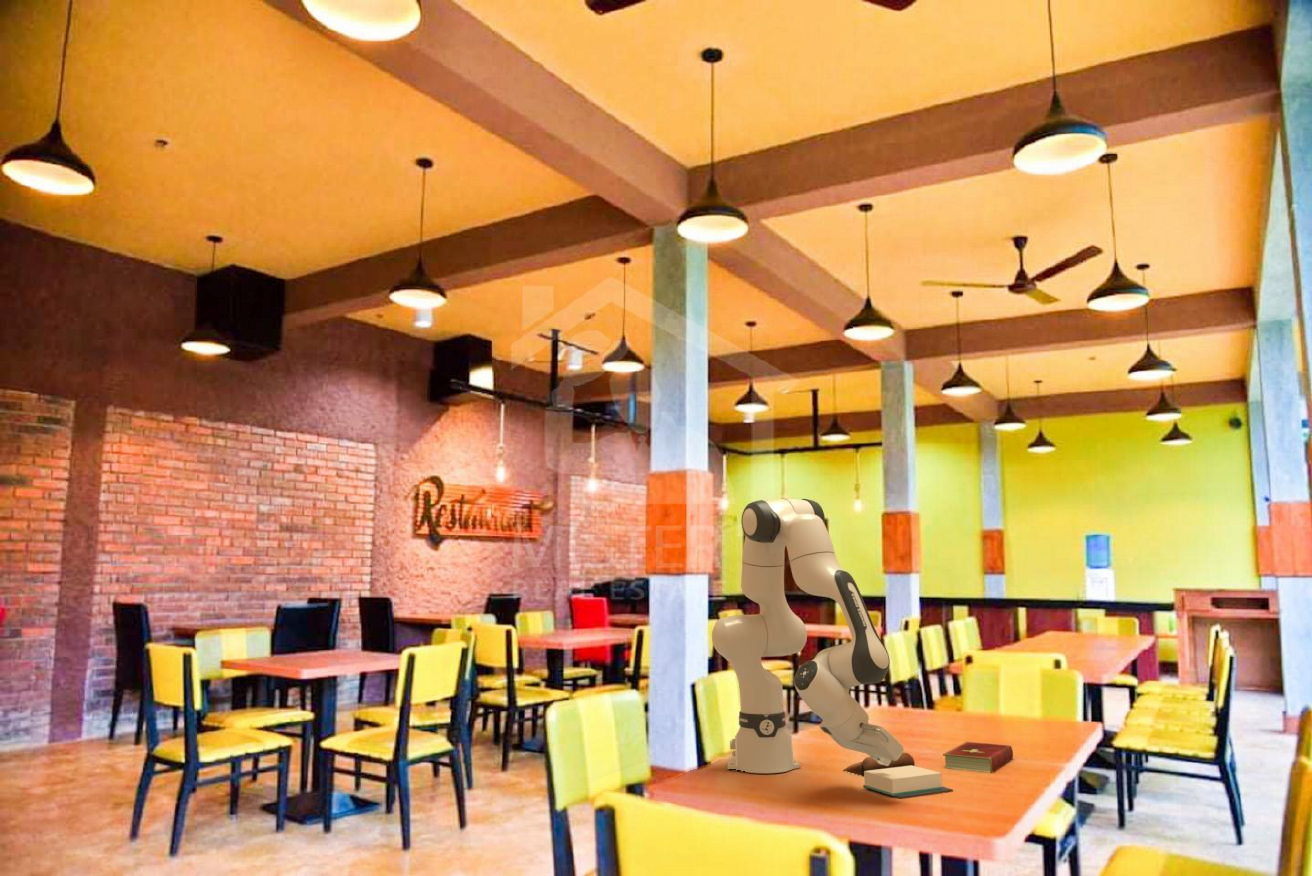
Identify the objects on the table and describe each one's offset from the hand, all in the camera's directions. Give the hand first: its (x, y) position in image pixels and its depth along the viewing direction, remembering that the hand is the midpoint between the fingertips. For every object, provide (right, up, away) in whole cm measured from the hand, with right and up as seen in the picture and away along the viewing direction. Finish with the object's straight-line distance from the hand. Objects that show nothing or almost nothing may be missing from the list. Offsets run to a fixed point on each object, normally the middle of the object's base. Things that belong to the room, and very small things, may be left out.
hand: (885, 762), depth 206 cm
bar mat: (+5, -7, +1) cm, 9 cm away
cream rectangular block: (-2, -4, -2) cm, 5 cm away
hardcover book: (+32, -11, +29) cm, 45 cm away
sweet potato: (+4, -11, +23) cm, 26 cm away
